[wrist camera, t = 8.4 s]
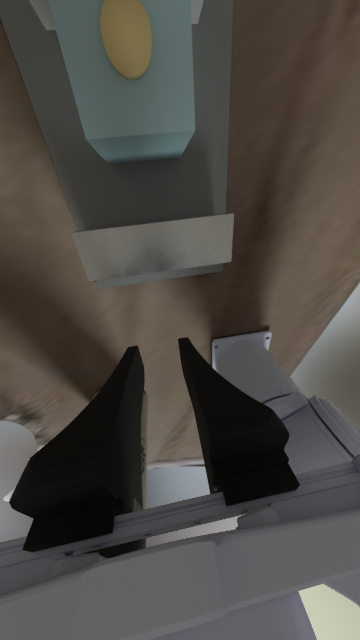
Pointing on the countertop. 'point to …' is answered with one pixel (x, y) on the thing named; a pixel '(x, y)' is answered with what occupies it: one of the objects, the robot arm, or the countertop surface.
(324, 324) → the countertop surface
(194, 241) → the block
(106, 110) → the housing
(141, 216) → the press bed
